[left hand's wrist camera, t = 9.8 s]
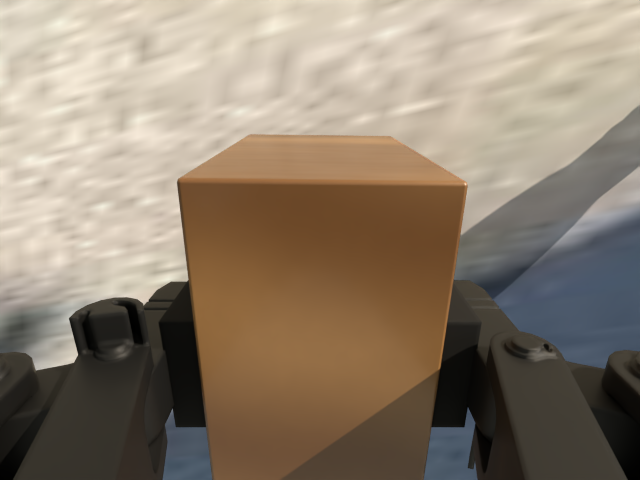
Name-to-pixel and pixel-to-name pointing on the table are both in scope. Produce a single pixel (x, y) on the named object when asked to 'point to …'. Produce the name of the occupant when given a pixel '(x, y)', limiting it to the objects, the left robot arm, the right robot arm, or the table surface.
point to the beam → (320, 303)
